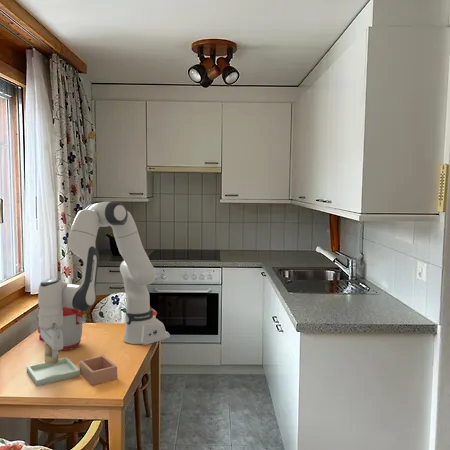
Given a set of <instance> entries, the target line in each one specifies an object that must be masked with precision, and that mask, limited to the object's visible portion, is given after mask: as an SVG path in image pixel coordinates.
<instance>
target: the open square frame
mask: <svg viewBox="0 0 450 450" xmlns="http://www.w3.org/2000/svg"><path fill="white" fill-rule="evenodd" d="M78 363H79V370H80V375H81V376H82V377H83V378H84V379H85V380H86V381H87V382H88V383H89V384H90V386H95V385H96V386H97V385H100V384H103V383H107V382H111V381H115V380H117V379H118V366H117V365H116V363H114V362H113V361H111V360H110V359H109V358H108V357H107V356H105V355H98V356H93V357H90V358H86V359H85V358H84V359H81V360H79V362H78Z"/></svg>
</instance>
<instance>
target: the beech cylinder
mask: <svg viewBox="0 0 450 450" xmlns="http://www.w3.org/2000/svg"><path fill="white" fill-rule="evenodd" d="M51 353H52V349H51V347H50V346H49V345H48V344H46V343H45V344H44V362H45V364H47V365H52V364H56V363H58V362H59V360H58V359H59V350H58V351H57V357H55V358H52V356H51Z"/></svg>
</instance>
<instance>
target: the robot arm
mask: <svg viewBox="0 0 450 450" xmlns="http://www.w3.org/2000/svg"><path fill="white" fill-rule="evenodd" d="M72 222H73V223H72V224H71V227H70V230H69V233H68V236H67V237H68V238H67V247H68V249H69V251H70V252H72V253H73V254H74V255H75V256H76V257H78V258H80V259H81V260H82V262H83V263H82V264H83V270H82V279H81V283H80V284H74V283H69V282H63V281H61V280H60V278H55V277H52V278H47V279H43V280H42V281H41V282H40V283H39V286H38V292H37V295H38V297H37V302H38V303H37V304H38V308H39V307H40V310H39V309H38V310H39V311H38V315H37V316H36V318H37V319H36V321H37V323H38V327H39V329H40V334H39V335H41V337H42V339H43V340H44V342H45V345H46V344H48V345H49V346H50V347H51V349H52V353H51V356H52V358H55V357H57V351H58V352H59V351H63V350H62V349H63V334H62V330H61V329H60V326H61V325H62V324H63V310H62V308H63V307H66V308H73V309H77V310H80V311H83V312H86V311H88V310H89V309H91V308H92V307H93V306H94V305H95V303H96V300H97V289H96V287H97V277H98V269H99V268H98V266H99V251H98V249H97V247H96V240H97V235H98V230H99V229H100V227H101V228H102V227H103V228H106V227H111V229H112V234H113V237H114V240H115V242H116V247H117V248H118V252H119V255H121V257H122V262H121V263H120V265H119V272H120V274H121V276H122V281H123V286H124V291H125V299H126V300H125V302H126V305H125V306H126V307H125V308H126V309H125V332H124V335H123V341H124V343H127V344H130V345H132V344H133V345H142V346H143V345H146V346H147V345H150V344H154V343H156V342H159V341H160V342H161V341H163V340H166V339H169V338H171V334H170V333H169V332H168V331H166V327H165V325H164V323H163V322H162V321H160V320H159V319H158V318H156V317H154V316H157V314H158V311H156V310H153V309H151V308H150V305H151V304H150V293H149V290H148V287H147V286H148V285H151V284H152V283H154V282H155V280H156V278H157V270H156V268H155V267H154V266H153V264H152V263H151V260H150V258H149V256H148V254H147V252H146V250H145V248H144V246H143V243H142V241H141V237H140V234H139V230H138V227H137V224H136V222H135V220H134V218H133V215H132V214H131V211H130V212H129V211H128V210H127V208H126V206H125V205H124V204H123V203H122V202H120V201H116V200H115V201H114V200H113V201H112V200H111V201H102V202H96V203H92V204H89V205H87V206H86V208H85V209H82V210H79V211H77V213H76V216H75V217H74V219H73V221H72ZM43 340H42V341H43Z"/></svg>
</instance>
